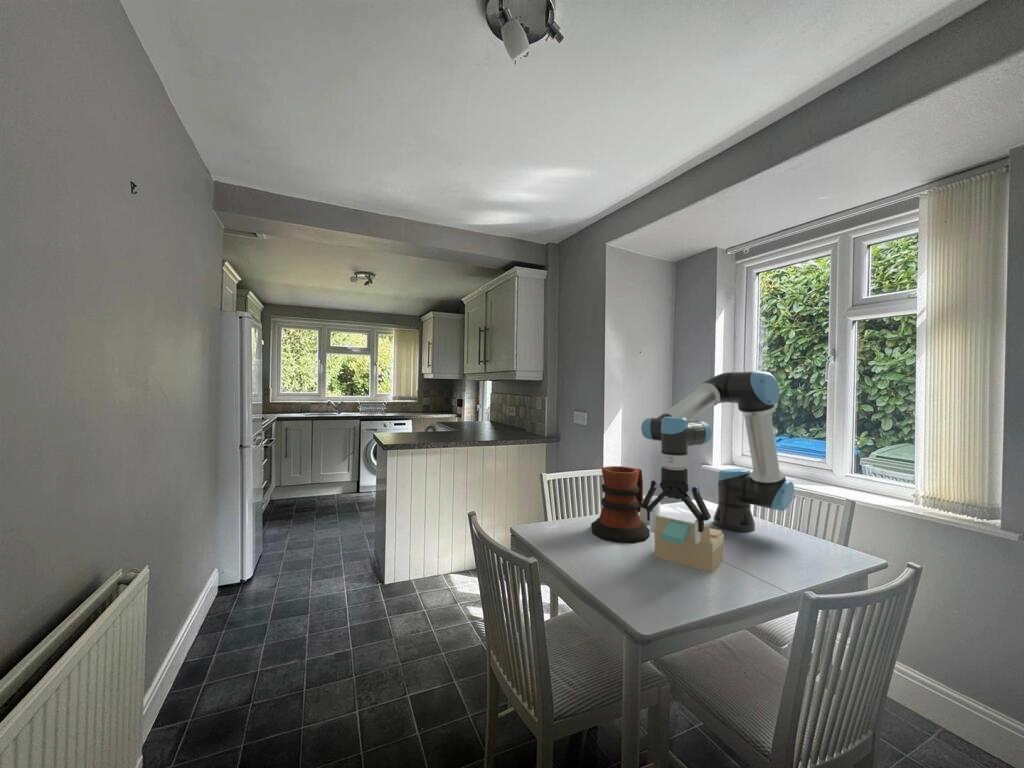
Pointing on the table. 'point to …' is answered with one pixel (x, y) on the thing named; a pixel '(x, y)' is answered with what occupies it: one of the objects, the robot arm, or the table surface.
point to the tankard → (621, 506)
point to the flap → (680, 530)
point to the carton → (692, 551)
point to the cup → (644, 512)
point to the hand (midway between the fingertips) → (674, 536)
